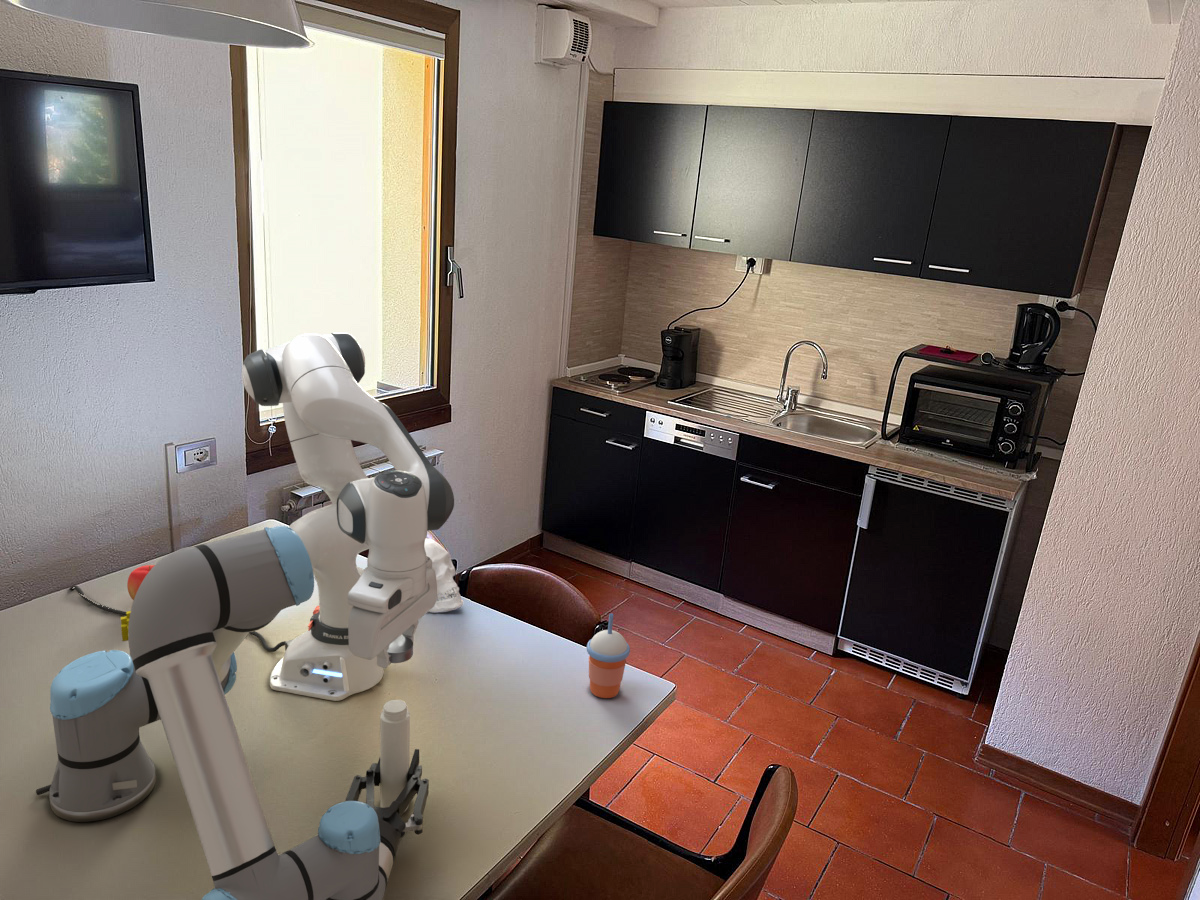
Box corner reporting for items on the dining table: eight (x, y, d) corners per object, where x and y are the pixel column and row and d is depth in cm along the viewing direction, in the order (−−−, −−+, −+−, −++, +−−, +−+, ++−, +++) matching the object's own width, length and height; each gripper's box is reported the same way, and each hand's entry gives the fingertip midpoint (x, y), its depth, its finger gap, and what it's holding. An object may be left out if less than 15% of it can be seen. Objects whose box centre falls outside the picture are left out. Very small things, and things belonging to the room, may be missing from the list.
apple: (178, 610, 199) (175, 571, 196) (132, 618, 194) (128, 578, 191) (171, 592, 207) (168, 555, 204) (127, 600, 202) (123, 562, 199)
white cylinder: (396, 792, 147) (397, 694, 141) (414, 805, 144) (416, 705, 138) (374, 806, 143) (374, 705, 138) (392, 820, 141) (392, 718, 135)
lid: (395, 642, 139) (395, 632, 138) (420, 652, 136) (420, 642, 136) (372, 656, 134) (372, 645, 134) (397, 667, 132) (397, 656, 131)
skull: (448, 622, 203) (451, 561, 199) (372, 599, 211) (374, 540, 207) (477, 602, 215) (480, 543, 211) (405, 581, 223) (406, 524, 219)
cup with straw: (621, 706, 176) (629, 628, 171) (578, 698, 178) (585, 621, 173) (629, 682, 185) (636, 608, 180) (588, 675, 186) (594, 601, 181)
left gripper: (307, 874, 126) (349, 770, 148) (428, 880, 126) (452, 776, 149) (306, 832, 123) (349, 733, 146) (429, 838, 124) (453, 739, 146)
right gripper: (413, 547, 142) (412, 621, 146) (340, 599, 123) (340, 682, 127) (447, 555, 140) (445, 630, 144) (378, 609, 121) (377, 693, 125)
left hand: (401, 755), depth 147 cm, fingers closed on white cylinder, 5 cm apart
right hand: (395, 655), depth 135 cm, fingers closed on lid, 5 cm apart
